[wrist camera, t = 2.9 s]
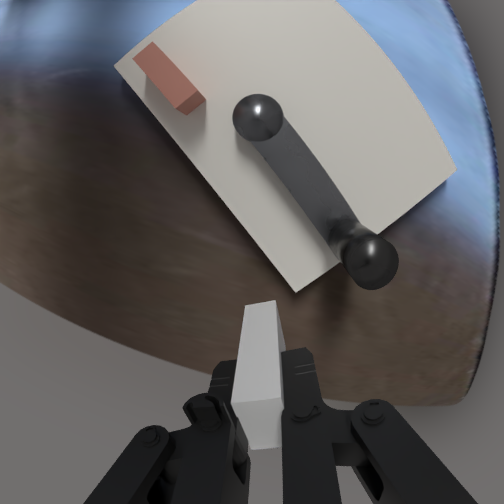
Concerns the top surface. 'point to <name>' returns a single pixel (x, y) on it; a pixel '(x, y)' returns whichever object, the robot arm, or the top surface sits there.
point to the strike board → (289, 116)
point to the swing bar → (315, 192)
